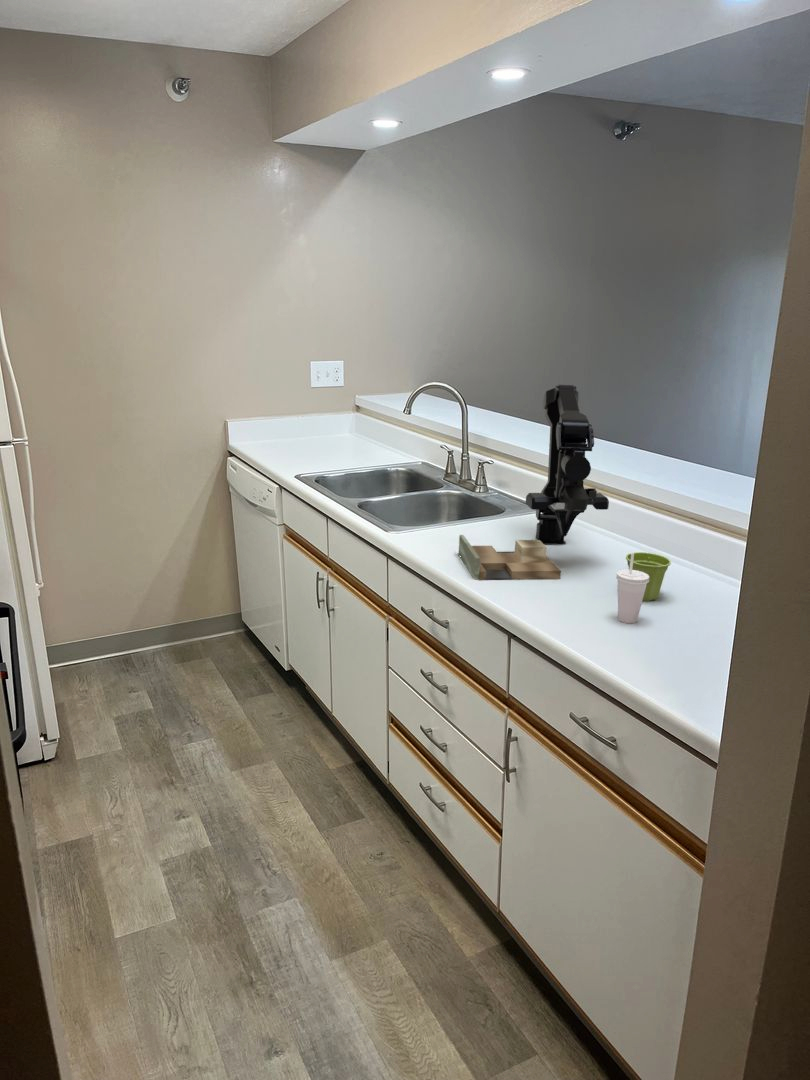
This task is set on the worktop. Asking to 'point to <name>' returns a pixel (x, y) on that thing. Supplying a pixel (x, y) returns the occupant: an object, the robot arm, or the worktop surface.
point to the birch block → (530, 550)
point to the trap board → (503, 564)
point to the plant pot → (650, 571)
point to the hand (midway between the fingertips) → (563, 535)
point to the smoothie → (630, 593)
